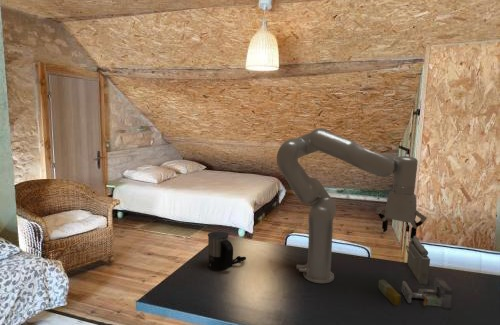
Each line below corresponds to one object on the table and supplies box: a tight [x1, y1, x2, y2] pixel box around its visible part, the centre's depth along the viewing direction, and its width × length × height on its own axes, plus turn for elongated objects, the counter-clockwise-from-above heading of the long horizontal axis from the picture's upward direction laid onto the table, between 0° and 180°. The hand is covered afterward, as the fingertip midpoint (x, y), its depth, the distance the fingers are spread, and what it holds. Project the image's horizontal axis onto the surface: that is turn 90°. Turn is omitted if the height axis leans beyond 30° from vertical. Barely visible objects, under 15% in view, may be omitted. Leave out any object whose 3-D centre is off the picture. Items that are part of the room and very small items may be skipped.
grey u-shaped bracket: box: [420, 276, 453, 309], centre depth 122 cm, size 8×9×7 cm
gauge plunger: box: [401, 280, 437, 307], centre depth 121 cm, size 11×10×4 cm
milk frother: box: [207, 230, 247, 272], centre depth 147 cm, size 14×16×15 cm
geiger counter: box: [405, 235, 431, 285], centre depth 145 cm, size 14×6×25 cm
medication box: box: [377, 279, 402, 306], centre depth 124 cm, size 12×3×4 cm, turn 6°
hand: (398, 234), depth 125 cm, fingers open, 9 cm apart
